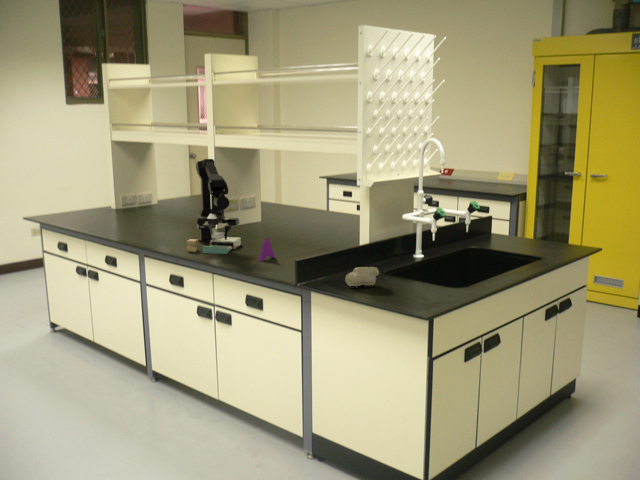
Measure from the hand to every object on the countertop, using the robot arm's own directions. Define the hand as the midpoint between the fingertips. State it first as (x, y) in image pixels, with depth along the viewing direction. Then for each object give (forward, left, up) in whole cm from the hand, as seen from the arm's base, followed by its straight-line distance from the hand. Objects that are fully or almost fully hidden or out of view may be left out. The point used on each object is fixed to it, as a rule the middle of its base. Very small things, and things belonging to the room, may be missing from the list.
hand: (218, 239), depth 280 cm
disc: (0, 0, +1) cm, 1 cm away
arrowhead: (+12, +26, -6) cm, 29 cm away
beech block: (+2, -12, -5) cm, 13 cm away
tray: (0, 0, -5) cm, 5 cm away
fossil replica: (+47, +71, -6) cm, 85 cm away
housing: (-10, 0, -5) cm, 11 cm away
